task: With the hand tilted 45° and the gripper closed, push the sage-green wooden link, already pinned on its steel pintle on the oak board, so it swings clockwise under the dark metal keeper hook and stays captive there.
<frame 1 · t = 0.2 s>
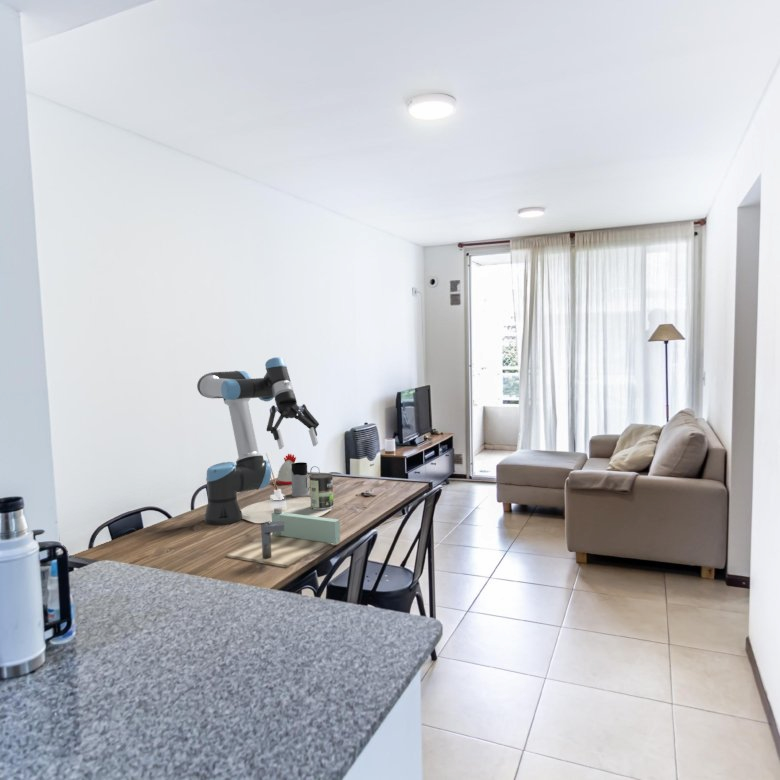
hand: (299, 446, 207), 35 cm above the table, tool tilted 35°, fingers open, 13 cm apart
grey and black mug: (306, 494, 280), on the table
pintle board: (282, 548, 203), on the table
coffee can: (322, 507, 256), on the table
keeper: (275, 558, 193), resting on pintle board
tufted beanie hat: (290, 481, 308), on the table
link: (304, 527, 211), point 5 cm above the table, hinge at 0.0°
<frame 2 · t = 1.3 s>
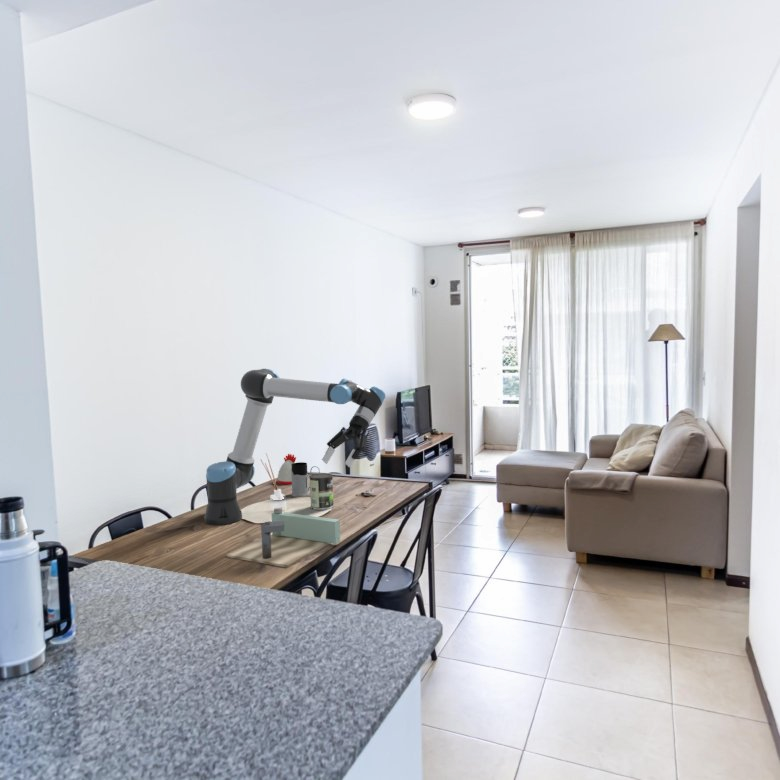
hand: (335, 463, 224), 25 cm above the table, tool tilted 45°, fingers open, 13 cm apart
nothing on the table moved.
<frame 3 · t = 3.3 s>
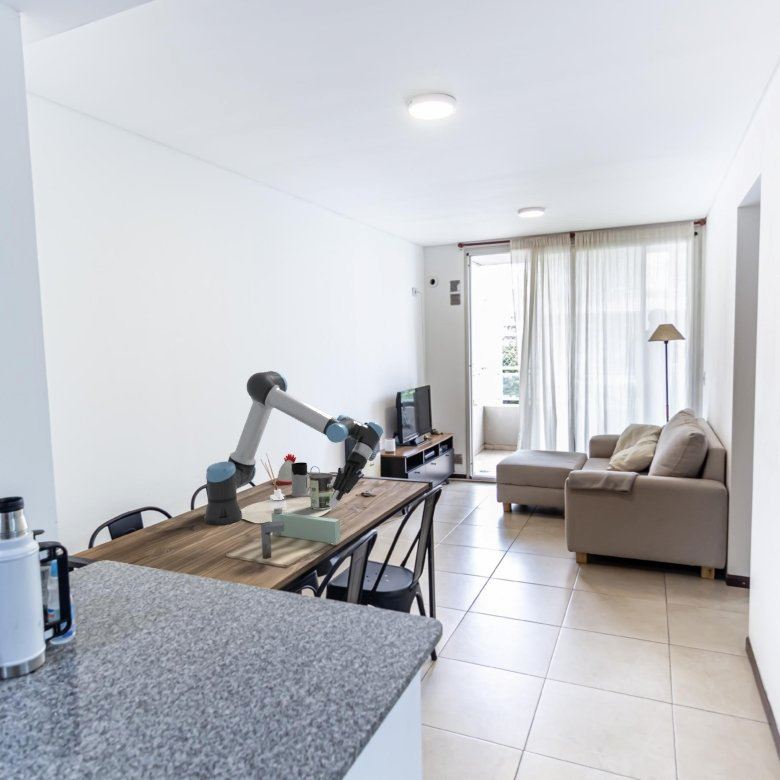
hand: (331, 506, 221), 9 cm above the table, tool tilted 45°, fingers closed
nothing on the table moved.
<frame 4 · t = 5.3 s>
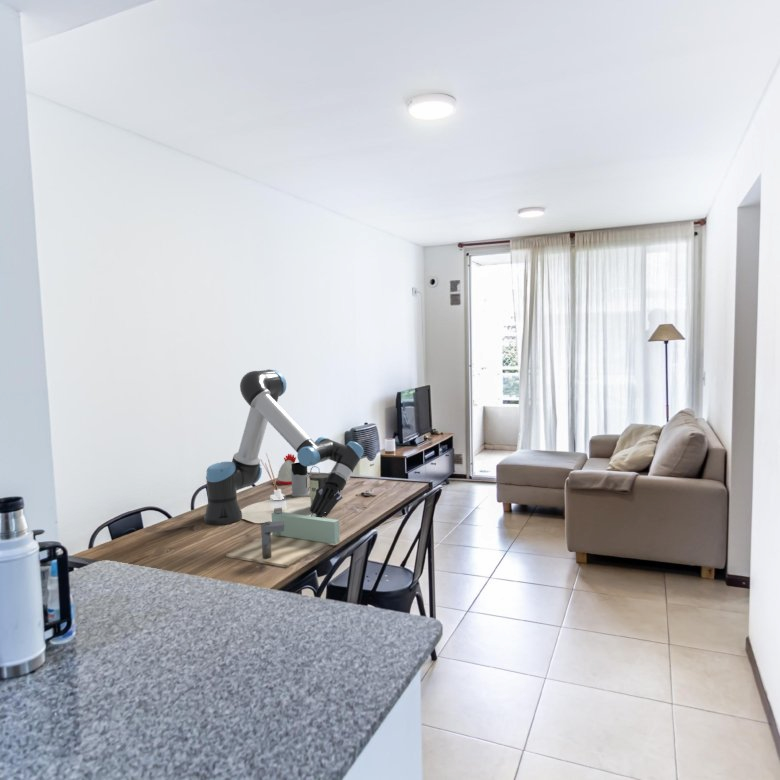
hand: (307, 530, 214), 3 cm above the table, tool tilted 45°, fingers closed
link: (304, 527, 211), point 5 cm above the table, hinge at -0.9°, touching gripper
everything else where it was.
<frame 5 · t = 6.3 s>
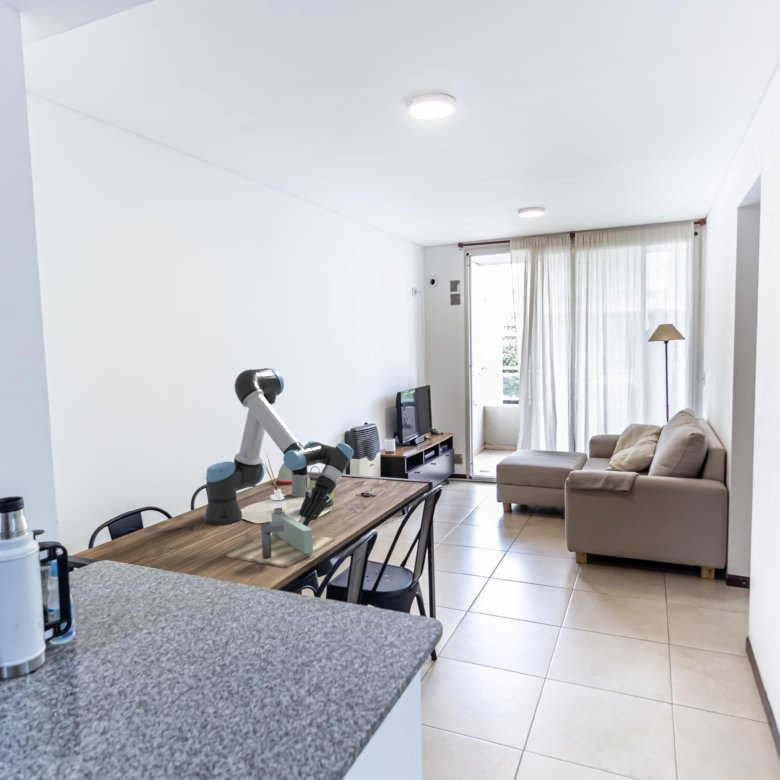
hand: (296, 534, 209), 3 cm above the table, tool tilted 45°, fingers closed
link: (291, 531, 206), point 5 cm above the table, hinge at -29.9°, touching gripper
everything else where it was.
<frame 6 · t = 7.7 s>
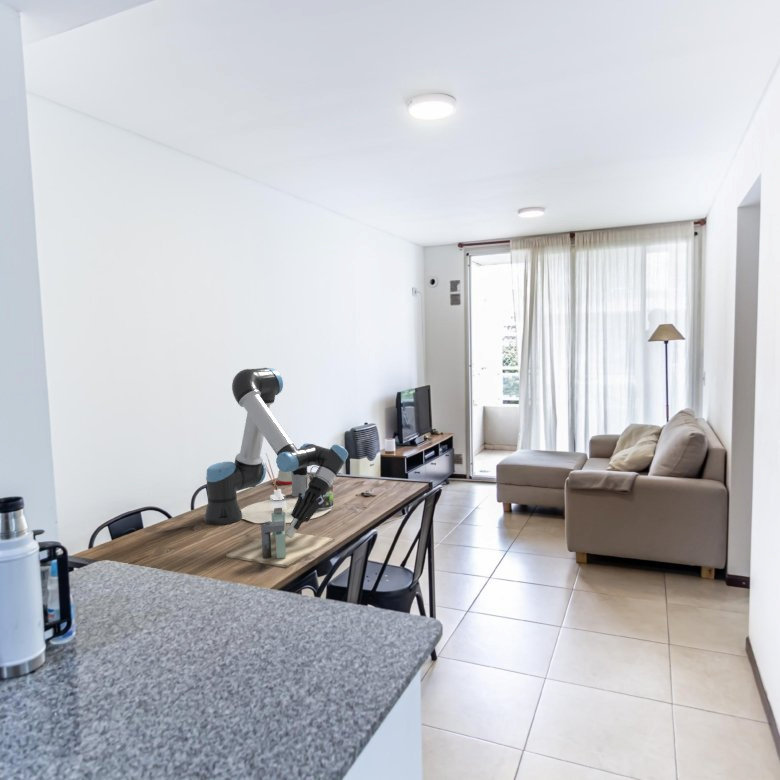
hand: (288, 536, 207), 3 cm above the table, tool tilted 45°, fingers closed
link: (279, 533, 205), point 5 cm above the table, hinge at -50.6°
everything else where it was.
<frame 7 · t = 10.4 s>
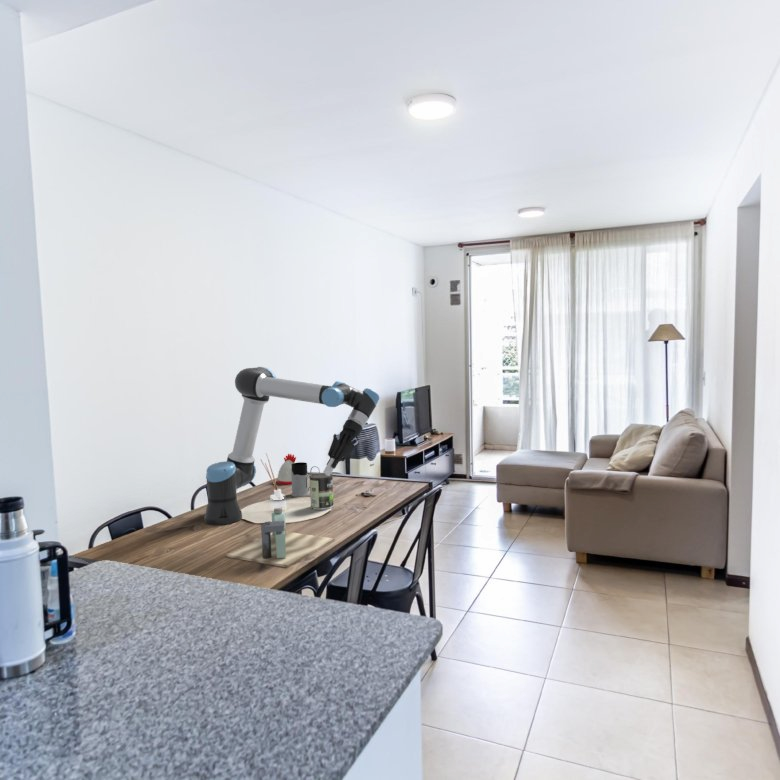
hand: (326, 474, 224), 21 cm above the table, tool tilted 40°, fingers closed
nothing on the table moved.
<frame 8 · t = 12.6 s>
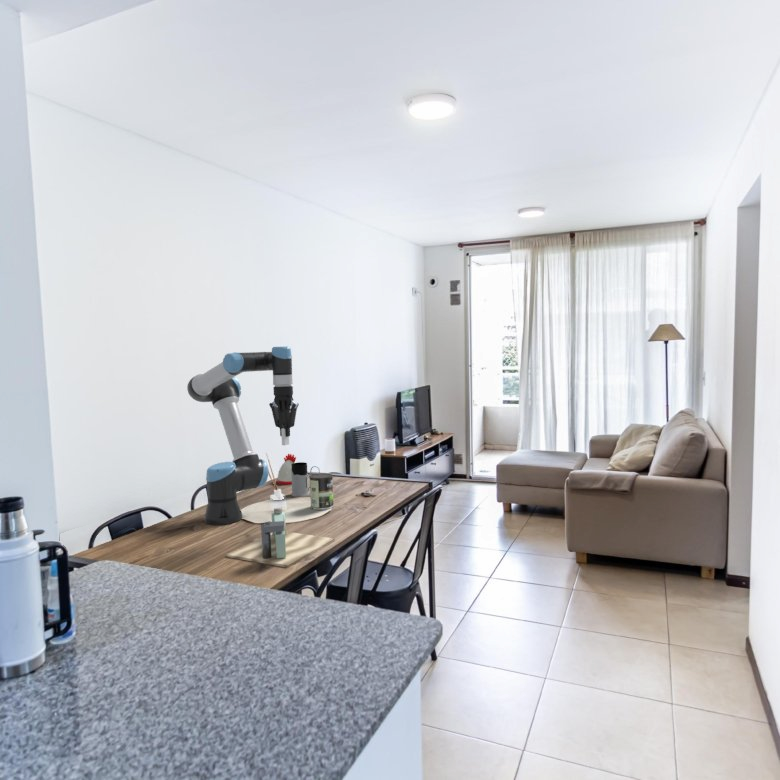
hand: (285, 444, 229), 32 cm above the table, tool pointing down, fingers closed
nothing on the table moved.
at the end: link at -51° (first picture: +0°) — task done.
